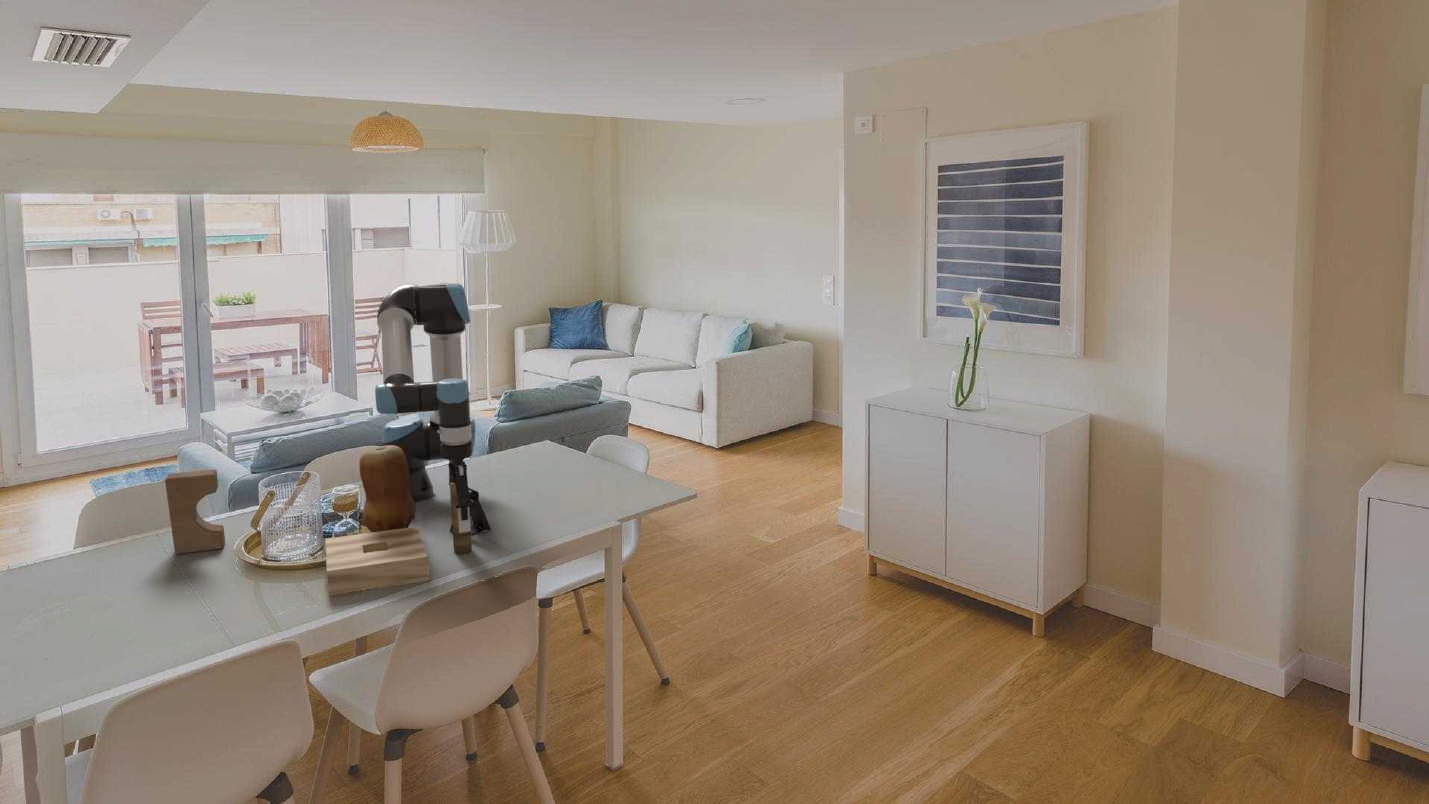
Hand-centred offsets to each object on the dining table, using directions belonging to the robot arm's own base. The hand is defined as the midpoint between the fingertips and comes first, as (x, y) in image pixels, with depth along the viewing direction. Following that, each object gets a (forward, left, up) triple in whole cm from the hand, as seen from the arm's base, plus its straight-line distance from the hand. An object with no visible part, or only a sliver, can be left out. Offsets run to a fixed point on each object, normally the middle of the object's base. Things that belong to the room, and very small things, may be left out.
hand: (461, 523), depth 237 cm
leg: (0, 0, -7) cm, 7 cm away
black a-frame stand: (-14, +4, -8) cm, 16 cm away
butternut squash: (-17, -16, -8) cm, 25 cm away
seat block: (+5, -21, -7) cm, 23 cm away
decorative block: (-28, -62, -8) cm, 68 cm away
